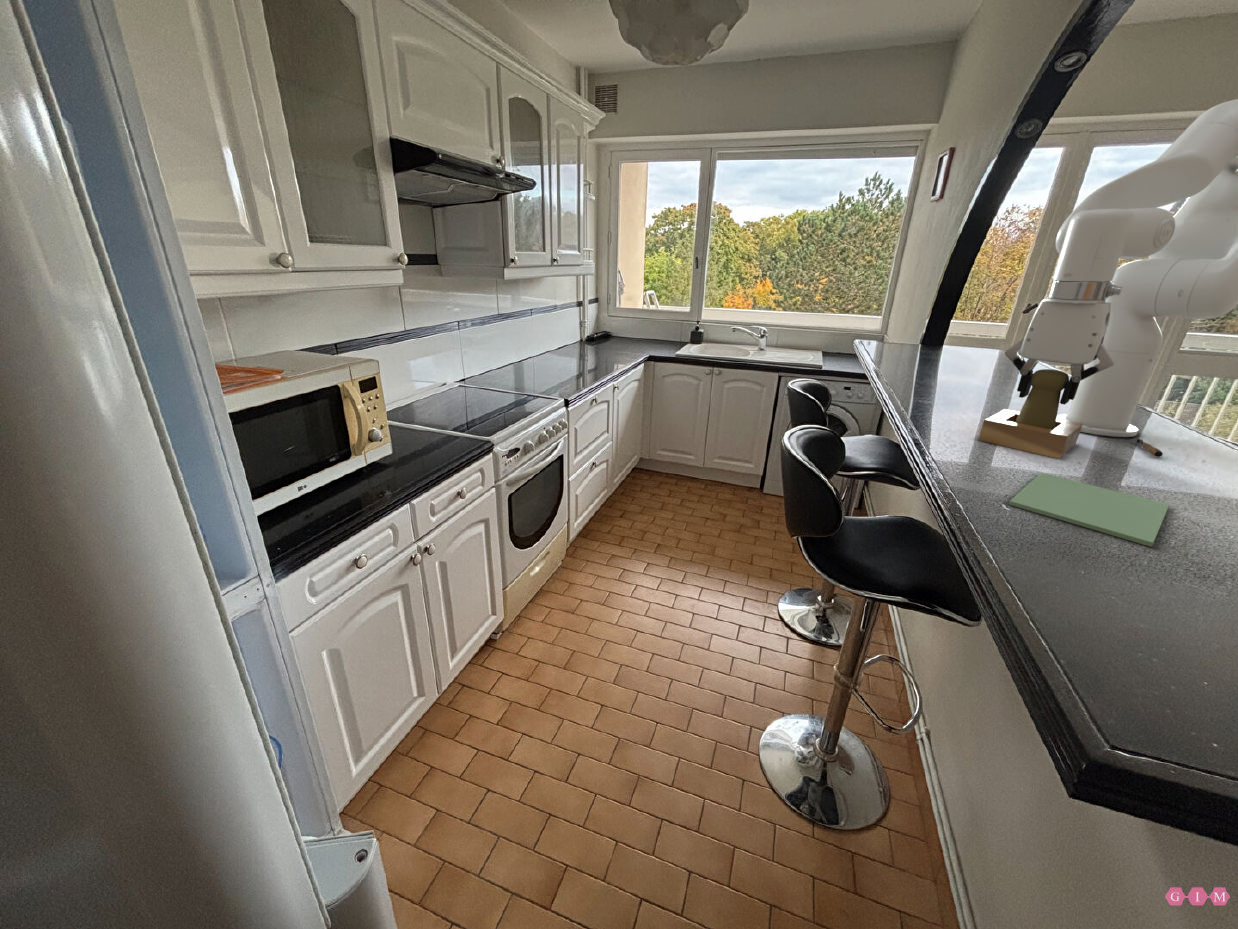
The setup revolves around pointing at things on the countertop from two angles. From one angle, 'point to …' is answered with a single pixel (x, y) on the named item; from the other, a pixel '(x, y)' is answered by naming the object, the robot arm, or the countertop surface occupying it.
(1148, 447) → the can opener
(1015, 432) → the holder
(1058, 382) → the cork
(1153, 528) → the mat
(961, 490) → the countertop surface
